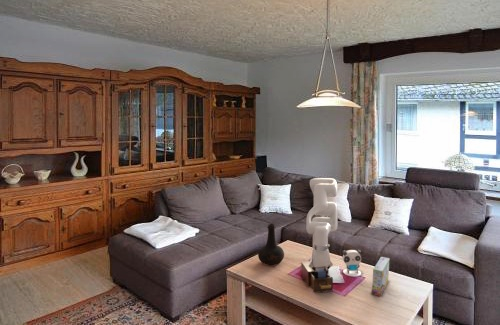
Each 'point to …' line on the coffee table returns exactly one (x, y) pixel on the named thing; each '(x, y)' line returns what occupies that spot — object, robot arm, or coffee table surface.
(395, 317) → the coffee table surface
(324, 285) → the drawer
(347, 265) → the panda figurine
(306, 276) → the cabinet
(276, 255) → the black vase
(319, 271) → the block
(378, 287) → the snack box
